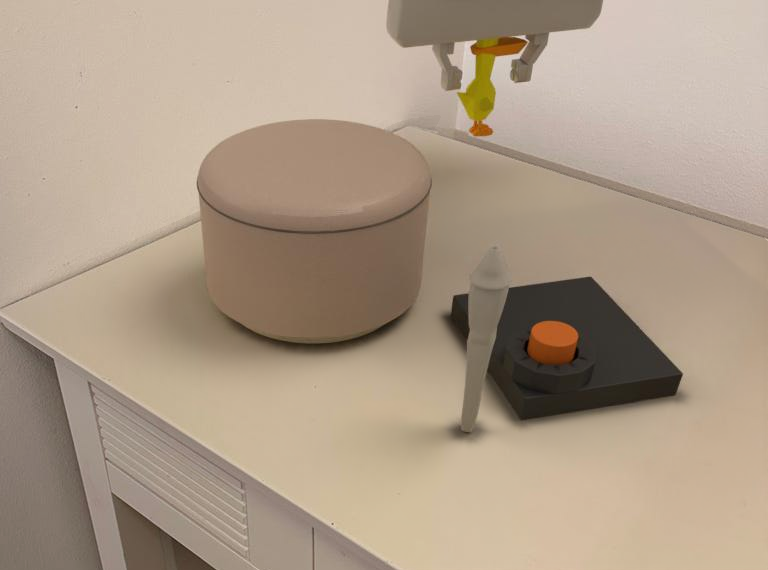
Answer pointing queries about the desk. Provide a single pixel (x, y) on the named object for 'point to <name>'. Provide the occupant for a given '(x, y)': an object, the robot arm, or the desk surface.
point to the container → (314, 228)
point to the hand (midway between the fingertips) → (485, 84)
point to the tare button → (552, 343)
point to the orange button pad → (592, 354)
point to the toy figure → (486, 80)
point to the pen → (483, 327)
